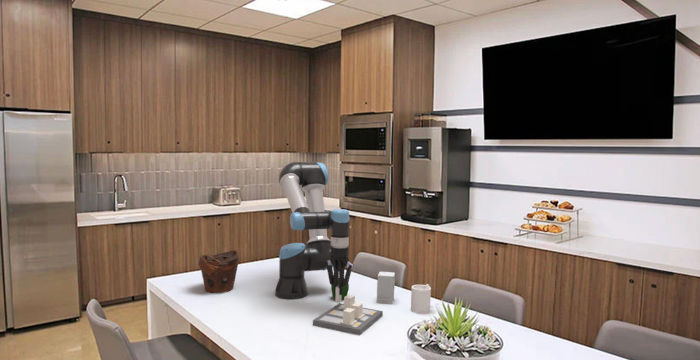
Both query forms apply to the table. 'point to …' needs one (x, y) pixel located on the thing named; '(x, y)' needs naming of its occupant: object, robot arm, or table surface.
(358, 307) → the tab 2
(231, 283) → the chocolate chip muffin
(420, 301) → the cup
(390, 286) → the supplement box
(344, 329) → the switch bank
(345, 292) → the bell pepper
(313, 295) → the table surface
